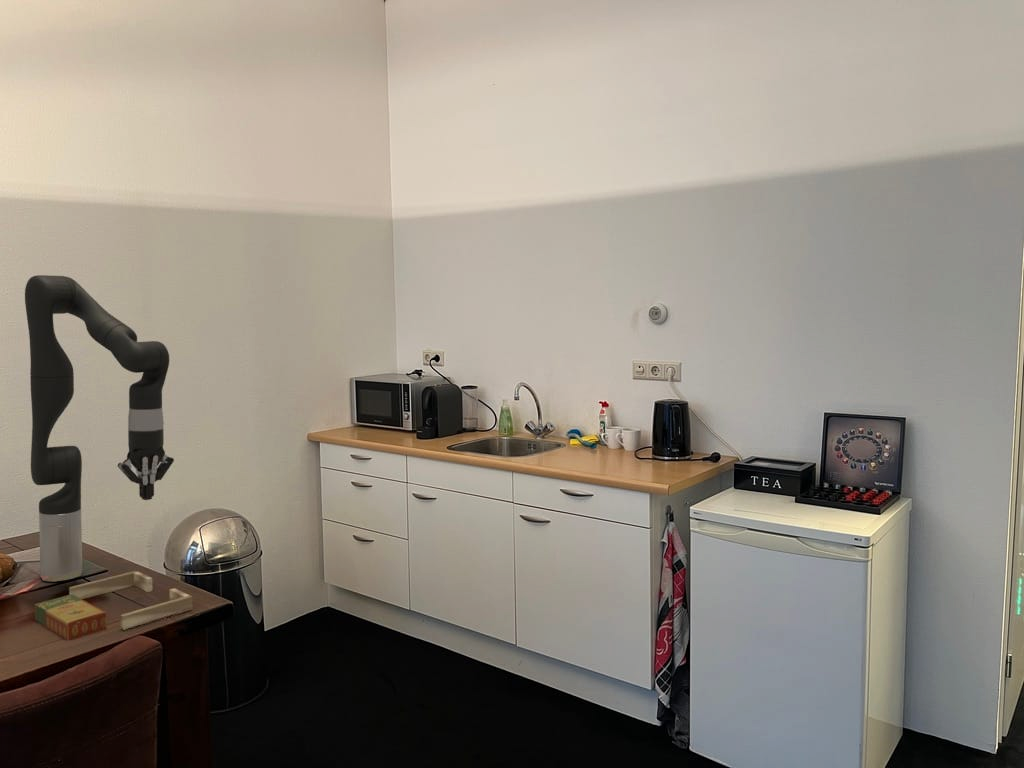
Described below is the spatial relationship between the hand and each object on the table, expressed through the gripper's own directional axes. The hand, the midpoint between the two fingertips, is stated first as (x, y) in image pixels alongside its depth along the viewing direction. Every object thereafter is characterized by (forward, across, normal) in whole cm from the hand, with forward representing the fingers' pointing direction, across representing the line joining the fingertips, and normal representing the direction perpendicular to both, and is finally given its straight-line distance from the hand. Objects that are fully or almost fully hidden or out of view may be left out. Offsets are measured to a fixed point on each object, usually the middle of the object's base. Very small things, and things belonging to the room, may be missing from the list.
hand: (146, 499), depth 192 cm
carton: (+24, +19, +4) cm, 31 cm away
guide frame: (+24, +6, +3) cm, 24 cm away
